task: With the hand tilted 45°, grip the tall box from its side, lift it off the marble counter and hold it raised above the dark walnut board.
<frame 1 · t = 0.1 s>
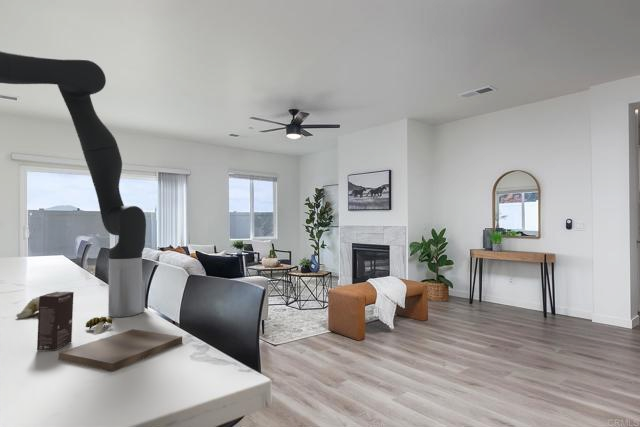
box: (55, 347, 86), on the table
insect: (100, 330, 100), on the table
yellow plush toy: (45, 314, 118), on the table
board: (124, 350, 83), on the table
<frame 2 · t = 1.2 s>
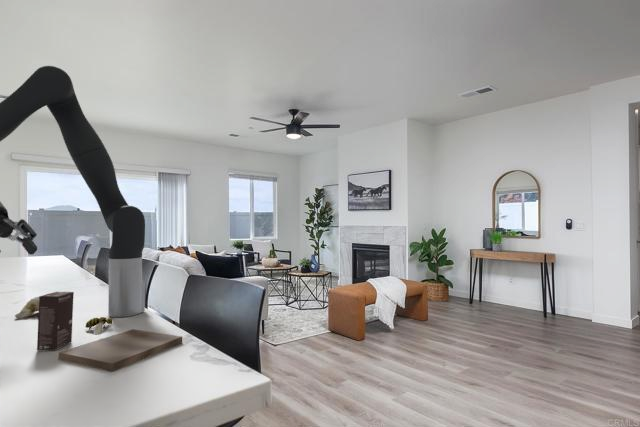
hand: (16, 253, 89), 21 cm above the table, fingers open, 8 cm apart
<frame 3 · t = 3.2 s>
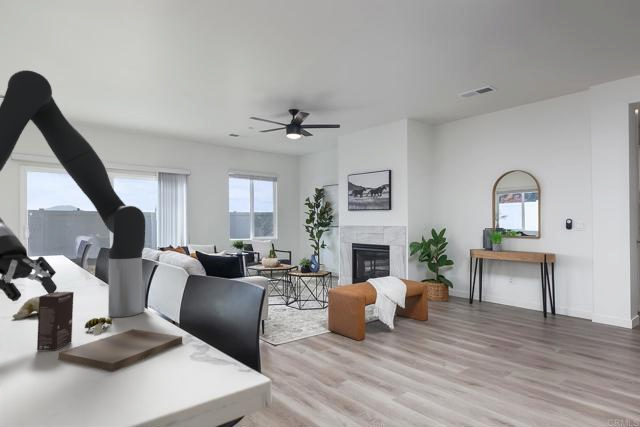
hand: (36, 294, 88), 12 cm above the table, fingers open, 8 cm apart
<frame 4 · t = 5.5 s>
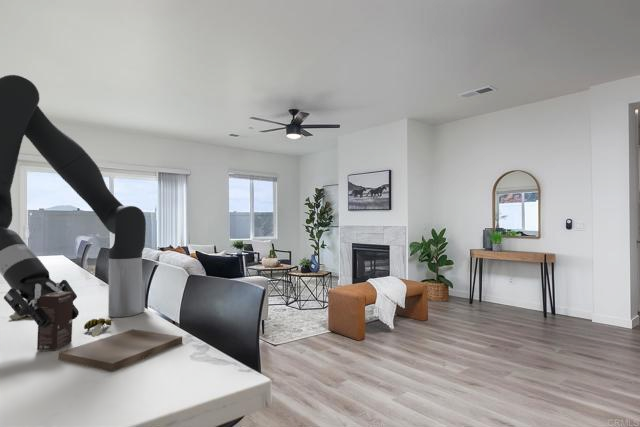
hand: (61, 320, 86), 6 cm above the table, fingers closed on box, 6 cm apart
box: (55, 347, 86), on the table, touching gripper
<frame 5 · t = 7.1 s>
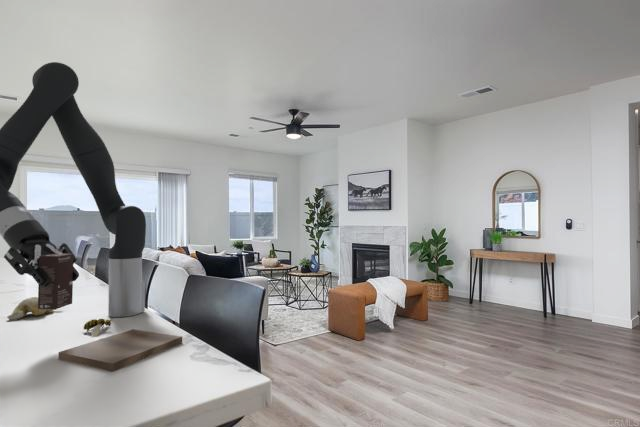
hand: (62, 281, 86), 15 cm above the table, fingers closed on box, 6 cm apart
box: (56, 307, 86), point 9 cm above the table, touching gripper
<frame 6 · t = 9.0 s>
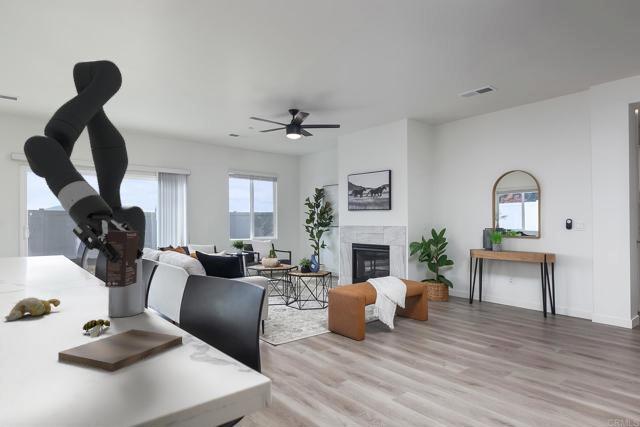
hand: (128, 258, 83), 20 cm above the table, fingers closed on box, 6 cm apart
box: (122, 286, 83), point 14 cm above the table, touching gripper
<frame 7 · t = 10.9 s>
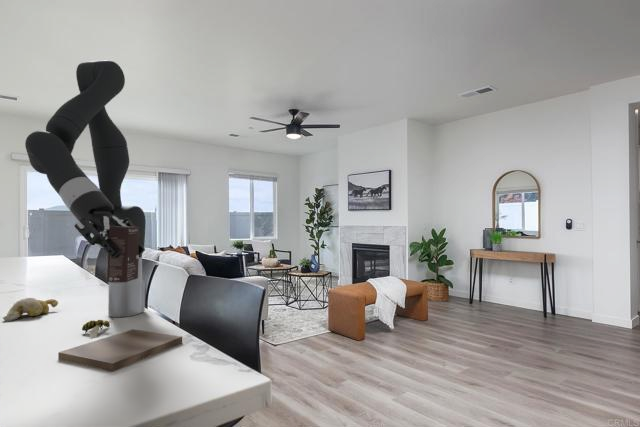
hand: (130, 254, 83), 21 cm above the table, fingers closed on box, 6 cm apart
box: (123, 281, 83), point 15 cm above the table, touching gripper
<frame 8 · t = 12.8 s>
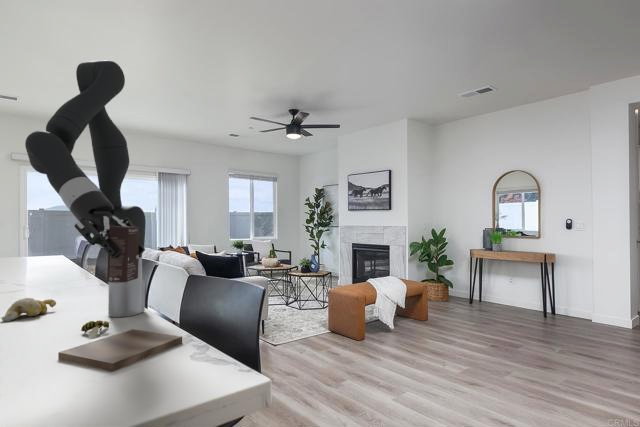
hand: (130, 254, 83), 21 cm above the table, fingers closed on box, 6 cm apart
box: (123, 281, 83), point 15 cm above the table, touching gripper
at the end: the gripper is holding box; box point 15.1 cm above the table; box inside the target area on the board (0.1 cm from its centre), point 15.1 cm above the board's base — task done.
